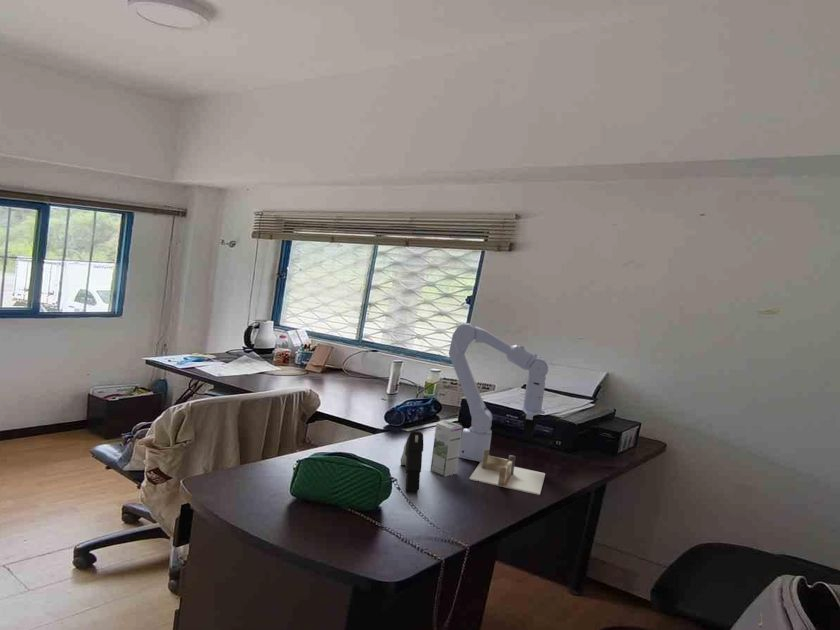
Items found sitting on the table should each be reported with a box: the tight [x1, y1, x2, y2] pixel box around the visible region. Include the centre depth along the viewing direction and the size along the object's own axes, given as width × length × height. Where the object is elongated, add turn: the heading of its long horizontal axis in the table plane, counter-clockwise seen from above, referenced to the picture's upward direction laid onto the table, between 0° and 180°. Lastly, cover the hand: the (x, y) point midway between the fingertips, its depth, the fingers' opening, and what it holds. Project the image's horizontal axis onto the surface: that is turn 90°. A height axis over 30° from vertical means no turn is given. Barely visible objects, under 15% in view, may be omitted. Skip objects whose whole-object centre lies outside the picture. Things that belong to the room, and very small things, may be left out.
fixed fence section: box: [482, 450, 517, 475], centre depth 174 cm, size 10×2×5 cm, turn 73°
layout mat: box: [469, 462, 546, 496], centre depth 172 cm, size 20×20×1 cm
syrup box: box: [430, 420, 463, 477], centre depth 167 cm, size 6×6×14 cm
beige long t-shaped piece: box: [498, 461, 513, 487], centre depth 166 cm, size 12×2×5 cm, turn 159°
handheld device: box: [400, 430, 424, 493], centre depth 159 cm, size 4×22×15 cm
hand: (528, 437), depth 184 cm, fingers closed
